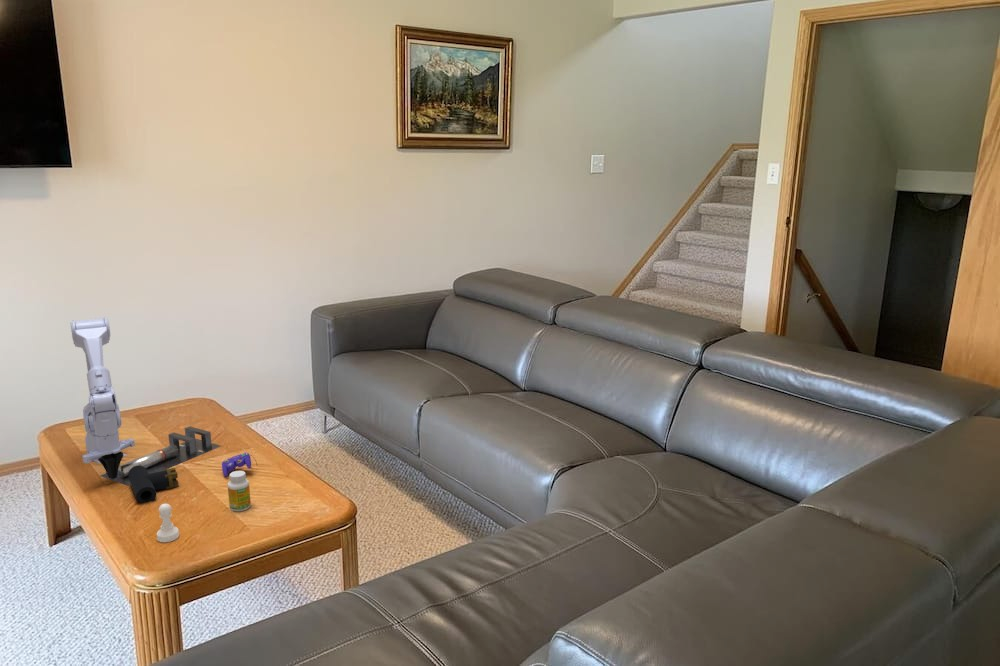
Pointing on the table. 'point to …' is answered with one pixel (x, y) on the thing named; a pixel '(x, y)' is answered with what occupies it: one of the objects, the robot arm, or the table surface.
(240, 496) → the supplement bottle
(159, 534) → the chess pawn
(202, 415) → the table surface
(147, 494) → the pipe connector
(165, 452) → the grey long cylinder
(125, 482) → the grey cradle rack
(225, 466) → the game controller
